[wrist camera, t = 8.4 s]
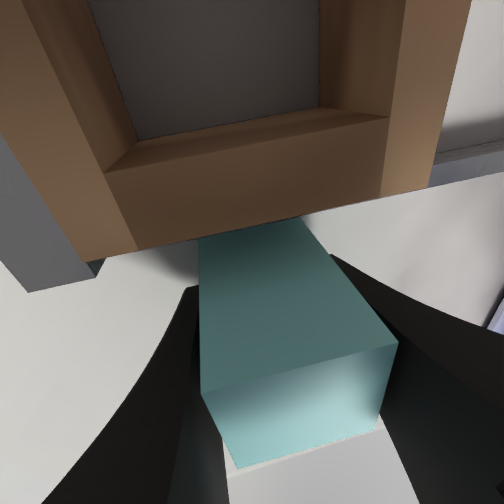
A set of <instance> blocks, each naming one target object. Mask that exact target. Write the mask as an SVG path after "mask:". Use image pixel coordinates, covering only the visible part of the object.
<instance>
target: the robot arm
mask: <svg viewBox="0 0 504 504" xmlns="http://www.w3.org/2000/svg"><path fill="white" fill-rule="evenodd" d="M330 256H331V258H332V259H333V260H334V261H335V263H336V264H337V265H338V267H339V268H340V269H341V270H342V272H343V273H344V274H345V275H346V277H347V278H348V279H349V280H350V282H351V283H352V284H353V285H354V287H355V288H356V289H357V290H358V292H359V293H360V294H361V295H362V297H363V298H364V299H365V300H366V302H367V303H368V304H369V305H370V307H371V308H372V309H373V310H374V312H375V313H376V314H377V316H378V317H379V318H380V319H381V321H382V322H383V323H384V324H385V326H386V327H387V328H388V329H389V331H390V332H391V333H392V334H393V336H394V337H395V338H396V339H397V341H398V342H399V343H398V347H397V350H396V354H395V357H394V361H393V365H392V368H391V372H390V376H389V379H388V383H387V386H386V390H385V394H384V397H383V401H382V404H381V408H380V412H379V414H380V416H381V418H382V420H383V422H384V424H385V426H386V429H387V430H388V432H389V435H390V437H391V439H392V441H393V443H394V446H395V448H396V450H397V452H398V455H399V457H400V459H401V461H402V464H403V466H404V468H405V471H406V473H407V475H408V477H409V479H410V482H411V484H412V486H413V489H414V491H415V494H416V496H417V498H418V501H419V503H420V504H504V298H503V300H502V302H501V304H500V305H499V307H498V309H497V311H496V313H495V315H494V317H493V318H492V320H491V322H490V324H489V326H488V328H487V329H486V328H483V327H480V326H478V325H475V324H472V323H469V322H466V321H464V320H461V319H459V318H456V317H454V316H451V315H449V314H446V313H444V312H442V311H439V310H437V309H434V308H432V307H430V306H427V305H425V304H423V303H421V302H419V301H416V300H414V299H412V298H410V297H408V296H406V295H404V294H402V293H400V292H398V291H396V290H394V289H392V288H390V287H388V286H387V285H385V284H383V283H381V282H379V281H377V280H376V279H374V278H372V277H370V276H369V275H367V274H365V273H363V272H362V271H360V270H358V269H356V268H355V267H353V266H351V265H350V264H348V263H346V262H345V261H343V260H341V259H340V258H338V257H336V256H334V255H333V254H330ZM41 504H230V503H229V495H228V487H227V478H226V469H225V460H224V451H223V441H222V437H221V434H220V432H219V430H218V428H217V426H216V424H215V422H214V420H213V418H212V416H211V414H210V412H209V410H208V408H207V406H206V404H205V402H204V399H203V397H202V395H201V382H200V315H199V285H196V286H191V287H187V288H186V289H185V290H184V292H183V295H182V297H181V300H180V302H179V304H178V307H177V309H176V311H175V313H174V315H173V318H172V320H171V322H170V324H169V326H168V328H167V330H166V332H165V334H164V336H163V338H162V340H161V341H160V343H159V345H158V347H157V349H156V350H155V352H154V354H153V356H152V357H151V359H150V361H149V363H148V364H147V366H146V368H145V369H144V371H143V373H142V374H141V376H140V377H139V379H138V380H137V382H136V383H135V385H134V386H133V388H132V389H131V391H130V392H129V394H128V395H127V397H126V398H125V400H124V401H123V402H122V404H121V405H120V407H119V408H118V409H117V411H116V412H115V414H114V415H113V416H112V418H111V419H110V421H109V422H108V423H107V425H106V426H105V427H104V429H103V430H102V431H101V432H100V434H99V435H98V436H97V438H96V439H95V440H94V441H93V443H92V444H91V445H90V446H89V447H88V449H87V450H86V451H85V452H84V454H83V455H82V456H81V457H80V458H79V460H78V461H77V462H76V463H75V465H74V466H73V467H72V468H71V469H70V471H69V472H68V473H67V474H66V476H65V477H64V478H63V479H62V480H61V482H60V483H59V484H58V485H57V486H56V487H55V489H54V490H53V491H52V492H51V493H50V494H49V496H48V497H47V498H46V499H45V500H44V501H43V502H42V503H41Z"/></svg>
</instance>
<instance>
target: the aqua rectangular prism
mask: <svg viewBox="0 0 504 504" xmlns="http://www.w3.org/2000/svg"><path fill="white" fill-rule="evenodd" d="M198 248H199V315H200V382H201V395H202V397H203V399H204V402H205V404H206V406H207V408H208V410H209V412H210V414H211V416H212V418H213V420H214V422H215V424H216V426H217V428H218V430H219V432H220V434H221V437H222V439H223V441H224V443H225V445H226V447H227V449H228V451H229V453H230V455H231V457H232V459H233V461H234V463H235V465H236V467H237V469H239V468H243V467H247V466H250V465H254V464H257V463H261V462H264V461H268V460H271V459H275V458H278V457H282V456H285V455H289V454H292V453H296V452H299V451H303V450H306V449H310V448H313V447H317V446H320V445H324V444H327V443H331V442H334V441H338V440H341V439H345V438H349V437H352V436H356V435H359V434H363V433H366V432H370V431H373V430H375V426H376V423H377V419H378V415H379V412H380V408H381V404H382V401H383V397H384V394H385V390H386V386H387V383H388V379H389V376H390V372H391V368H392V365H393V361H394V357H395V354H396V350H397V347H398V343H399V342H398V341H397V339H396V338H395V337H394V336H393V334H392V333H391V332H390V331H389V329H388V328H387V327H386V326H385V324H384V323H383V322H382V321H381V319H380V318H379V317H378V316H377V314H376V313H375V312H374V310H373V309H372V308H371V307H370V305H369V304H368V303H367V302H366V300H365V299H364V298H363V297H362V295H361V294H360V293H359V292H358V290H357V289H356V288H355V287H354V285H353V284H352V283H351V282H350V280H349V279H348V278H347V277H346V275H345V274H344V273H343V272H342V270H341V269H340V268H339V267H338V265H337V264H336V263H335V261H334V260H333V259H332V258H331V256H330V255H329V254H328V253H327V251H326V250H325V249H324V248H323V246H322V245H321V244H320V243H319V241H318V240H317V239H316V238H315V236H314V235H313V234H312V233H311V231H310V230H309V229H308V228H307V226H306V225H305V224H304V223H303V221H302V220H301V219H300V218H299V217H298V218H293V219H289V220H284V221H279V222H275V223H270V224H265V225H261V226H256V227H251V228H247V229H242V230H237V231H233V232H228V233H223V234H219V235H214V236H209V237H205V238H200V239H198Z"/></svg>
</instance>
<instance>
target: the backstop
mask: <svg viewBox="0 0 504 504" xmlns="http://www.w3.org/2000/svg"><path fill="white" fill-rule="evenodd" d="M503 171H504V140H500V141H495V142H490V143H486V144H481V145H476V146H471V147H466V148H462V149H457V150H452V151H447V152H443V153H438V154H435V157H434V161H433V165H432V169H431V173H430V177H429V182H428V186H427V188H430V187H435V186H439V185H444V184H448V183H453V182H457V181H462V180H467V179H471V178H476V177H480V176H485V175H489V174H494V173H499V172H503ZM423 189H425V188H423ZM419 190H421V189H419ZM414 191H416V190H414ZM409 192H412V191H409ZM405 193H407V192H405ZM400 194H403V193H400ZM396 195H398V194H396ZM391 196H393V195H391ZM386 197H389V196H386ZM382 198H384V197H382ZM377 199H380V198H377ZM373 200H375V199H373ZM368 201H371V200H368ZM364 202H366V201H364ZM359 203H361V202H359ZM354 204H357V203H354ZM350 205H352V204H350ZM345 206H348V205H345ZM341 207H343V206H341ZM336 208H338V207H336ZM332 209H334V208H332ZM327 210H329V209H327ZM322 211H325V210H322ZM318 212H320V211H318ZM313 213H316V212H313ZM309 214H311V213H309ZM304 215H306V214H304ZM300 216H302V215H300ZM295 217H297V216H295ZM290 218H293V217H290ZM286 219H288V218H286ZM281 220H284V219H281ZM277 221H279V220H277ZM272 222H274V221H272ZM267 223H270V222H267ZM263 224H265V223H263ZM258 225H261V224H258ZM254 226H256V225H254ZM249 227H252V226H249ZM245 228H247V227H245ZM240 229H242V228H240ZM235 230H238V229H235ZM231 231H233V230H231ZM226 232H229V231H226ZM222 233H224V232H222ZM217 234H220V233H217ZM213 235H215V234H213ZM208 236H210V235H208ZM203 237H206V236H203ZM199 238H201V237H199ZM194 239H197V238H194ZM190 240H192V239H190ZM185 241H188V240H185ZM181 242H183V241H181ZM176 243H178V242H176ZM171 244H174V243H171ZM167 245H169V244H167ZM162 246H165V245H162ZM158 247H160V246H158ZM153 248H156V247H153ZM148 249H151V248H148ZM144 250H146V249H144ZM139 251H142V250H139ZM135 252H137V251H135ZM105 259H106V258H103V259H98V260H94V261H89V262H84V263H83V262H82V260H81V259H80V257H79V256H78V254H77V253H76V251H75V249H74V248H73V246H72V245H71V243H70V242H69V240H68V238H67V237H66V235H65V234H64V232H63V231H62V229H61V227H60V226H59V224H58V223H57V221H56V220H55V218H54V216H53V215H52V213H51V212H50V210H49V209H48V207H47V205H46V204H45V202H44V201H43V199H42V198H41V196H40V194H39V193H38V191H37V190H36V188H35V187H34V185H33V183H32V182H31V180H30V179H29V177H28V176H27V174H26V173H25V171H24V169H23V168H22V166H21V165H20V163H19V162H18V160H17V158H16V157H15V155H14V154H13V152H12V151H11V149H10V147H9V146H8V144H7V143H6V141H5V140H4V138H3V136H2V135H1V133H0V260H1V262H2V263H3V264H4V265H5V266H6V267H7V269H8V270H9V271H10V272H11V273H12V275H13V276H14V277H15V278H16V279H17V280H18V282H19V283H20V284H21V285H22V286H23V287H24V289H25V290H26V291H27V292H28V293H30V292H34V291H38V290H43V289H47V288H52V287H56V286H61V285H65V284H70V283H74V282H79V281H83V280H88V279H92V278H96V276H97V274H98V272H99V271H100V269H101V267H102V265H103V263H104V261H105Z"/></svg>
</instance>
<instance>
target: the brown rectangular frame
mask: <svg viewBox="0 0 504 504" xmlns="http://www.w3.org/2000/svg"><path fill="white" fill-rule="evenodd" d="M471 1H472V0H320V107H316V108H310V109H305V110H300V111H295V112H289V113H284V114H279V115H273V116H268V117H263V118H258V119H252V120H247V121H242V122H237V123H231V124H226V125H221V126H215V127H210V128H205V129H200V130H194V131H189V132H184V133H178V134H173V135H168V136H163V137H157V138H152V139H147V140H141V141H138V138H137V135H136V133H135V130H134V127H133V124H132V122H131V119H130V116H129V113H128V111H127V108H126V105H125V103H124V100H123V97H122V94H121V92H120V89H119V86H118V84H117V81H116V78H115V75H114V73H113V70H112V67H111V64H110V62H109V59H108V56H107V54H106V51H105V48H104V45H103V43H102V40H101V37H100V35H99V32H98V29H97V26H96V24H95V21H94V18H93V15H92V13H91V10H90V7H89V5H88V2H87V0H0V133H1V135H2V136H3V138H4V140H5V141H6V143H7V144H8V146H9V147H10V149H11V151H12V152H13V154H14V155H15V157H16V158H17V160H18V162H19V163H20V165H21V166H22V168H23V169H24V171H25V173H26V174H27V176H28V177H29V179H30V180H31V182H32V183H33V185H34V187H35V188H36V190H37V191H38V193H39V194H40V196H41V198H42V199H43V201H44V202H45V204H46V205H47V207H48V209H49V210H50V212H51V213H52V215H53V216H54V218H55V220H56V221H57V223H58V224H59V226H60V227H61V229H62V231H63V232H64V234H65V235H66V237H67V238H68V240H69V242H70V243H71V245H72V246H73V248H74V249H75V251H76V253H77V254H78V256H79V257H80V259H81V260H82V262H83V263H84V262H89V261H94V260H98V259H103V258H107V257H112V256H116V255H121V254H126V253H130V252H135V251H139V250H144V249H148V248H153V247H158V246H162V245H167V244H171V243H176V242H181V241H185V240H190V239H194V238H199V237H203V236H208V235H213V234H217V233H222V232H226V231H231V230H235V229H240V228H245V227H249V226H254V225H258V224H263V223H267V222H272V221H277V220H281V219H286V218H290V217H295V216H300V215H304V214H309V213H313V212H318V211H322V210H327V209H332V208H336V207H341V206H345V205H350V204H354V203H359V202H364V201H368V200H373V199H377V198H382V197H386V196H391V195H396V194H400V193H405V192H409V191H414V190H419V189H423V188H427V186H428V182H429V177H430V173H431V169H432V165H433V161H434V157H435V152H436V148H437V144H438V140H439V136H440V131H441V127H442V123H443V119H444V115H445V110H446V106H447V102H448V98H449V94H450V89H451V85H452V81H453V77H454V73H455V69H456V64H457V60H458V56H459V52H460V48H461V43H462V39H463V35H464V31H465V27H466V22H467V18H468V14H469V10H470V6H471Z"/></svg>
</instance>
